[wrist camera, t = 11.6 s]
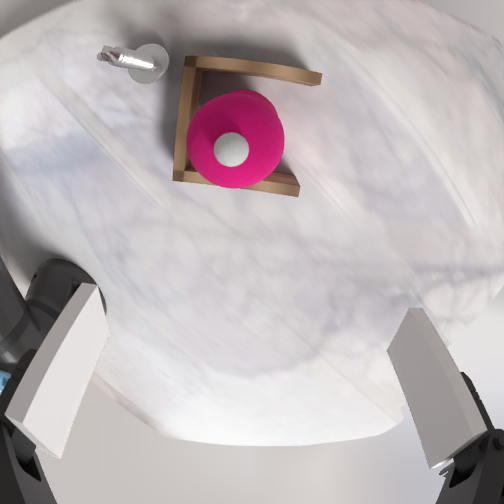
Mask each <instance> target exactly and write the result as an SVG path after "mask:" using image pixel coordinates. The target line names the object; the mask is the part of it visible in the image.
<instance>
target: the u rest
mask: <svg viewBox="0 0 504 504" xmlns="http://www.w3.org/2000/svg"><path fill="white" fill-rule="evenodd" d="M203 71H212V72H224V73H234V74H243V75H251V76H258V77H265V78H272V79H278V80H283V81H289V82H294V83H299V84H304V85H309V86H315V85H320V84H321V78H322V73H318V72H313V71H309V70H304V69H299V68H294V67H289V66H284V65H278V64H272V63H265V62H258V61H251V60H242V59H233V58H222V57H208V56H185V61H184V68H183V75H182V83H181V91H180V99H179V108H178V117H177V127H176V139H175V151H174V165H173V181H180V182H190V183H199V184H208V185H215V184H213V183H211V182H209V181H208V180H206V179H205V178H203V177H202V176H201V175H200V174H199V173H198V172H197V170H196V169H195V168H194V166H193V165H192V163H191V161H190V159H189V156H188V153H187V148H186V136H187V130H188V127H189V124H190V122H191V120H192V118H193V116H194V115H195V113H196V112H197V111H198V106H199V98H200V90H201V83H202V76H203ZM217 186H218V185H217ZM240 189H248V190H255V191H262V192H269V193H275V194H282V195H288V196H295V197H298V196H299V191H300V185H299V183H298V181H297V179H296V177H295V175H290V174H283V173H277V172H272V173H271V174H270V175H269V176H267V177H266V178H265V179H263V180H262V181H260V182H258V183H256V184H254V185H252V186H249V187H244V188H240Z"/></svg>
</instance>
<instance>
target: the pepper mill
mask: <svg viewBox="0 0 504 504" xmlns="http://www.w3.org/2000/svg"><path fill="white" fill-rule="evenodd" d="M186 148H187V153H188V156H189V159H190V161H191V163H192V165H193V166H194V168H195V169H196V170H197V172H198V173H199V174H200V175H201V176H202V177H203V178H205V179H206V180H208V181H209V182H211V183H213V184H215V185H218V186H221V187H226V188H244V187H249V186H252V185H254V184H256V183H258V182H260V181H262V180H263V179H265V178H266V177H267V176H269V175H270V174H271V173H272V172H273V170H274V169H275V168H276V167H277V165H278V163H279V161H280V159H281V157H282V154H283V150H284V130H283V127H282V124H281V121H280V119H279V118H278V115H277V112H276V110H275V108H274V106H273V105H272V103H271V102H270V101H269V100H268V99H267V98H266V97H264V96H263V95H261V94H259V93H257V92H254V91H250V90H236V91H232V92H229V93H226V94H225V95H221V96H218V97H216V98H213V99H211V100H210V101H208V102H207V103H206V104H204V105H203V106H202V107H201V108H200V109H199V110H198V111H197V112H196V113H195V115H194V116H193V118H192V120H191V122H190V124H189V127H188V130H187V136H186Z"/></svg>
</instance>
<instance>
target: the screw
mask: <svg viewBox="0 0 504 504" xmlns="http://www.w3.org/2000/svg"><path fill="white" fill-rule="evenodd" d="M97 59H98V60H100V61H105V62H108V63H109V64H111V65H113V66H117V67H124V68H128V71H129V74H130V76H131V77H132V79H133V80H135V81H136V82H138V83H142V84H150V83H154V82H156V81H158V80H159V79H160V78H162V77H163V76H164V75H165V73H166V72H167V70H168V67H169V63H170V59H169V55H168V52H167V51H166V49H164V48H163V47H162V46H160V45H157V44H145V45H143V46H141V47H139V48H138V49H136V50H131V49H128V48H125V47H115V48H113V47H109V46H104V47H103V49H102V52H101V53H98V55H97Z"/></svg>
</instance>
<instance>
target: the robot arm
mask: <svg viewBox="0 0 504 504" xmlns="http://www.w3.org/2000/svg"><path fill="white" fill-rule="evenodd" d="M0 254H1V253H0ZM109 335H110V330H109V327H108V323H107V320H106V303H105V299H104V297H103V295H102V293H101V291H100V289H99V287H98V285H96V283H95V282H94V281H93V280H92V278H91V277H90V276H89V275H88V274H86V273H85V272H84V271H83V270H82V269H80V268H79V267H77V266H76V265H74V264H72V263H70V262H67V261H64V260H59V259H53V260H48V261H46V262H45V263H43V264H42V265H41V266H40V267H39V269H38V270H37V271H36V272H35V274H34V276H33V278H32V281H31V284H30V287H29V289H28V292H27V295H26V298H25V300H24V298H23V296H22V295H21V293H20V291H19V289H18V288H17V286H16V284H15V282H14V281H13V279H12V277H11V275H10V273H9V271H8V269H7V268H6V266H5V264H4V262H3V260H2V258H1V256H0V504H57V502H56V500H55V498H54V496H53V494H52V491H51V489H50V487H49V484H48V482H47V480H46V477H45V475H44V472H43V470H42V467H41V465H40V462H39V459H38V456H37V454H36V452H35V449H36V446H37V447H38V448H39V449H40V450H42V451H43V452H44V453H46V454H49V455H51V456H53V457H55V458H58V459H61V457H62V454H63V451H64V448H65V444H66V442H67V439H68V436H69V433H70V430H71V427H72V424H73V422H74V419H75V416H76V413H77V411H78V408H79V405H80V402H81V400H82V398H83V395H84V393H85V390H86V388H87V385H88V382H89V380H90V378H91V375H92V373H93V371H94V368H95V366H96V364H97V361H98V359H99V357H100V355H101V352H102V350H103V348H104V346H105V343H106V341H107V339H108V337H109ZM387 352H388V355H389V357H390V360H391V362H392V364H393V367H394V369H395V372H396V374H397V377H398V379H399V382H400V384H401V387H402V390H403V392H404V395H405V398H406V400H407V403H408V406H409V408H410V411H411V414H412V417H413V420H414V422H415V425H416V428H417V431H418V434H419V437H420V440H421V443H422V446H423V449H424V453H425V456H426V459H427V463H428V466H429V469H432V468H435V467H438V466H440V465H443V464H444V463H446V462H448V461H449V460H450V459H452V458H453V459H454V462H453V463H451V464H450V465H448V466H447V467H445V468H444V469H443V470H442V471H441V472H440V473H439V475H442V474H444V473H445V472H447V471H448V470H449V471H448V473H447V474H445V475H444V477H446V479H445V482H444V484H443V487H442V490H441V492H440V495H439V497H438V499H437V502H436V504H504V431H503V430H502V429H495V428H494V426H493V425H492V422H491V420H490V418H489V416H488V414H487V412H486V409H485V407H484V405H483V403H482V401H481V400H480V399H479V395H478V393H477V392H476V389H475V387H474V385H473V383H472V381H471V379H470V378H469V377H468V376H467V375H466V374H465V373H464V372H460V371H459V370H458V368H457V366H456V364H455V362H454V360H453V359H452V357H451V355H450V353H449V351H448V350H447V348H446V346H445V344H444V343H443V341H442V339H441V337H440V336H439V334H438V332H437V331H436V329H435V327H434V326H433V324H432V322H431V321H430V319H429V318H428V316H427V314H426V313H425V311H424V310H423V308H409V309H408V311H407V313H406V316H405V317H404V319H403V321H402V323H401V325H400V327H399V329H398V331H397V333H396V335H395V337H394V338H393V340H392V342H391V344H390V346H389V348H388V349H387Z"/></svg>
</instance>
